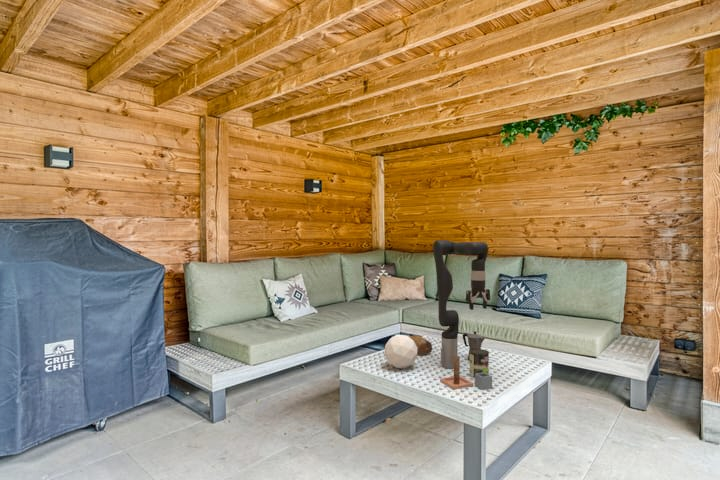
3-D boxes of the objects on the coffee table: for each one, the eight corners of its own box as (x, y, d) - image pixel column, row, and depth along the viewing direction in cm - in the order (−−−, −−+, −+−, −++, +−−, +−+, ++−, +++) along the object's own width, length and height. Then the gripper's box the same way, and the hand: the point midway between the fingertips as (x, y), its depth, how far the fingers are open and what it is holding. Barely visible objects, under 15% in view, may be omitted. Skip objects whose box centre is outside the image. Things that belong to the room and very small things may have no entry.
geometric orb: (393, 380, 242) (372, 353, 242) (405, 359, 259) (385, 334, 258) (417, 370, 231) (396, 342, 231) (428, 349, 248) (408, 323, 247)
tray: (440, 383, 219) (440, 378, 219) (459, 379, 223) (459, 375, 223) (453, 391, 208) (453, 386, 208) (473, 387, 212) (473, 383, 212)
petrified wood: (435, 354, 269) (432, 339, 268) (417, 360, 265) (414, 346, 263) (420, 345, 287) (417, 332, 286) (403, 351, 283) (401, 337, 282)
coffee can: (492, 377, 227) (492, 351, 227) (480, 381, 221) (480, 355, 221) (477, 372, 235) (477, 347, 235) (465, 376, 229) (465, 350, 229)
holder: (474, 387, 212) (474, 373, 212) (484, 385, 215) (484, 372, 215) (482, 391, 207) (482, 377, 207) (492, 389, 209) (492, 376, 209)
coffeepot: (488, 360, 256) (488, 331, 256) (480, 364, 249) (480, 334, 249) (466, 355, 267) (466, 327, 267) (458, 358, 260) (458, 330, 260)
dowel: (452, 382, 216) (452, 356, 216) (457, 382, 217) (457, 355, 217) (455, 384, 213) (455, 357, 213) (460, 384, 215) (460, 357, 214)
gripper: (484, 277, 229) (484, 306, 230) (462, 278, 224) (462, 308, 224) (493, 279, 222) (493, 309, 223) (471, 280, 217) (471, 311, 217)
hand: (478, 309), depth 223 cm, fingers open, 8 cm apart
